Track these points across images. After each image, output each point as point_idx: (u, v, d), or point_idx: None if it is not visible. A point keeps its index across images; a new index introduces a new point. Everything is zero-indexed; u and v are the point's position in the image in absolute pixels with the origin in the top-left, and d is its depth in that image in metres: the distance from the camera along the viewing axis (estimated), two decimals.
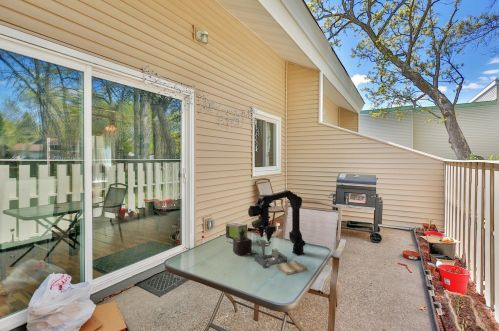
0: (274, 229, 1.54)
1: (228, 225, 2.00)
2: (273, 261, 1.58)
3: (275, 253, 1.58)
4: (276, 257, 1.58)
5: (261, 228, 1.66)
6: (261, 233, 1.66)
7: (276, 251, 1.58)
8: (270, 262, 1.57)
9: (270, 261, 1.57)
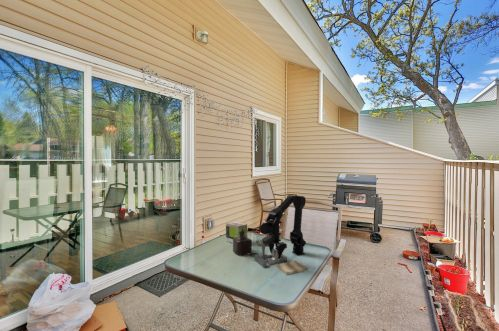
0: (285, 246, 1.52)
1: (228, 225, 2.00)
2: (273, 261, 1.58)
3: (275, 253, 1.58)
4: (276, 257, 1.58)
5: (271, 244, 1.64)
6: (271, 249, 1.64)
7: (276, 251, 1.58)
8: (270, 262, 1.57)
9: (270, 261, 1.57)
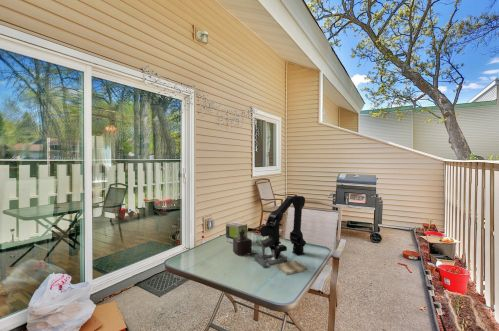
0: (285, 249, 1.52)
1: (228, 225, 2.00)
2: (273, 261, 1.58)
3: None
4: None
5: (273, 248, 1.62)
6: None
7: None
8: (270, 262, 1.57)
9: (270, 261, 1.57)
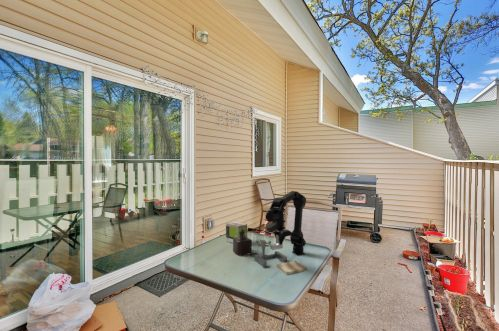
0: (290, 234, 1.49)
1: (228, 225, 2.00)
2: (277, 246, 1.55)
3: None
4: None
5: (277, 233, 1.59)
6: None
7: None
8: (274, 247, 1.54)
9: (274, 246, 1.54)
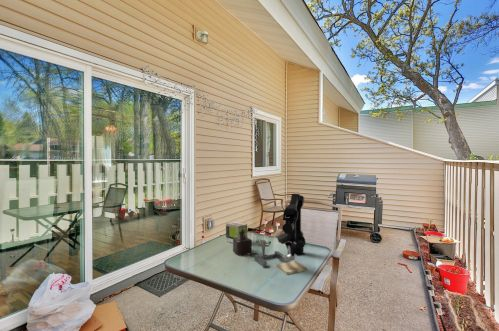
0: (303, 245, 1.43)
1: (228, 225, 2.00)
2: (289, 258, 1.48)
3: None
4: None
5: (289, 244, 1.52)
6: None
7: None
8: (286, 259, 1.47)
9: (286, 258, 1.47)
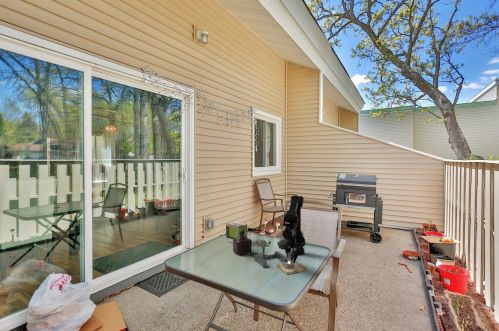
0: (303, 251, 1.43)
1: (228, 225, 2.00)
2: (289, 265, 1.48)
3: (291, 256, 1.49)
4: (292, 261, 1.49)
5: (288, 249, 1.54)
6: None
7: None
8: (286, 266, 1.47)
9: (286, 265, 1.47)
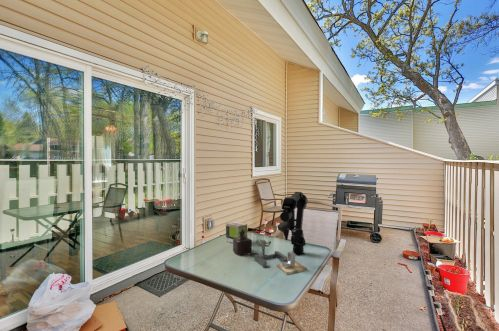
0: (301, 232, 1.52)
1: (228, 225, 2.00)
2: (289, 265, 1.48)
3: (291, 256, 1.49)
4: (292, 261, 1.49)
5: (286, 231, 1.64)
6: (286, 236, 1.63)
7: (292, 254, 1.49)
8: (286, 266, 1.47)
9: (286, 265, 1.47)
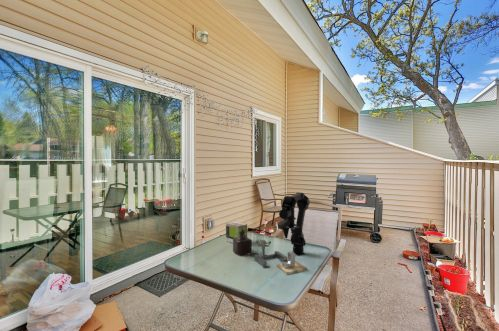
0: (301, 230, 1.54)
1: (228, 225, 2.00)
2: (289, 265, 1.48)
3: (291, 256, 1.49)
4: (292, 261, 1.49)
5: (286, 229, 1.66)
6: (286, 234, 1.66)
7: (292, 254, 1.49)
8: (286, 266, 1.47)
9: (286, 265, 1.47)
